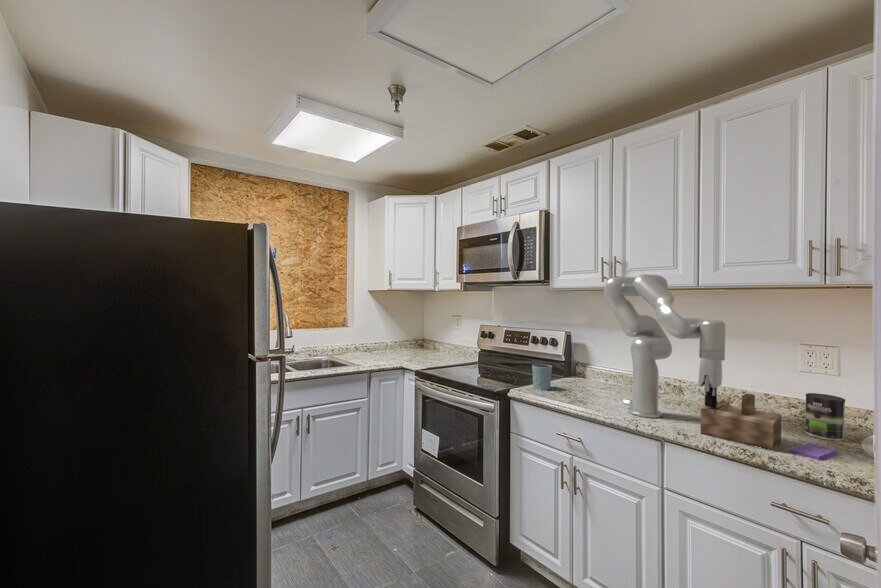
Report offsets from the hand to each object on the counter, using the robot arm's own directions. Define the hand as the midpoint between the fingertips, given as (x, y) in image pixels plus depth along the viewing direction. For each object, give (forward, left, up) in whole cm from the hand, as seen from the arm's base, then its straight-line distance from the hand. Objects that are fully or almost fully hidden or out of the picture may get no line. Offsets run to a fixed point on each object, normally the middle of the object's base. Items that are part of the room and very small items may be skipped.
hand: (710, 406), depth 143 cm
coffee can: (+27, +31, -10) cm, 42 cm away
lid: (+8, +4, -2) cm, 9 cm away
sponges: (+27, +6, -11) cm, 29 cm away
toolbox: (+8, +7, -10) cm, 14 cm away
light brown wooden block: (0, +6, 0) cm, 6 cm away
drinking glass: (-78, +11, -10) cm, 80 cm away
